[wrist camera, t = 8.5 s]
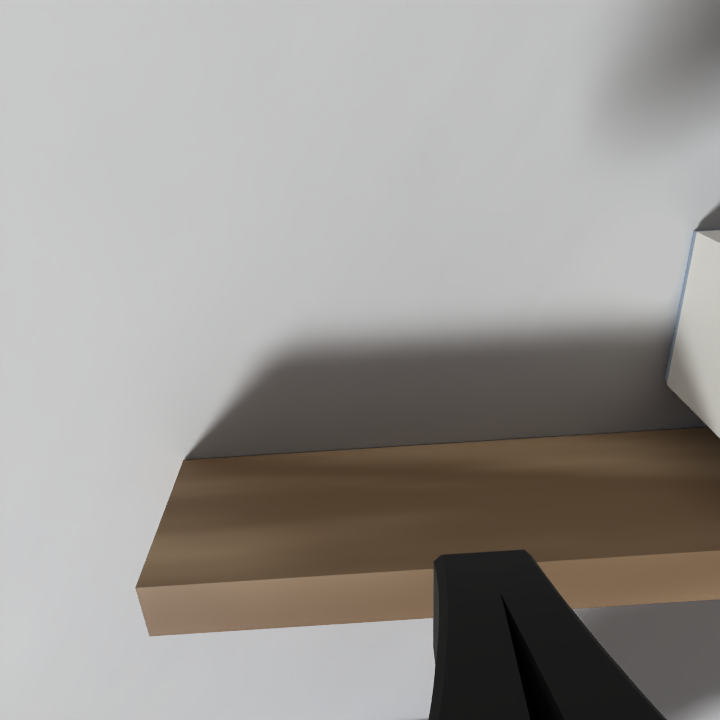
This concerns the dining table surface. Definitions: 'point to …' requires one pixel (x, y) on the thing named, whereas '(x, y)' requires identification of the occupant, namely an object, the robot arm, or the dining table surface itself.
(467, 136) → the dining table surface
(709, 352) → the boxed book
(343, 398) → the dining table surface
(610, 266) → the dining table surface
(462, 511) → the brown wooden rack
